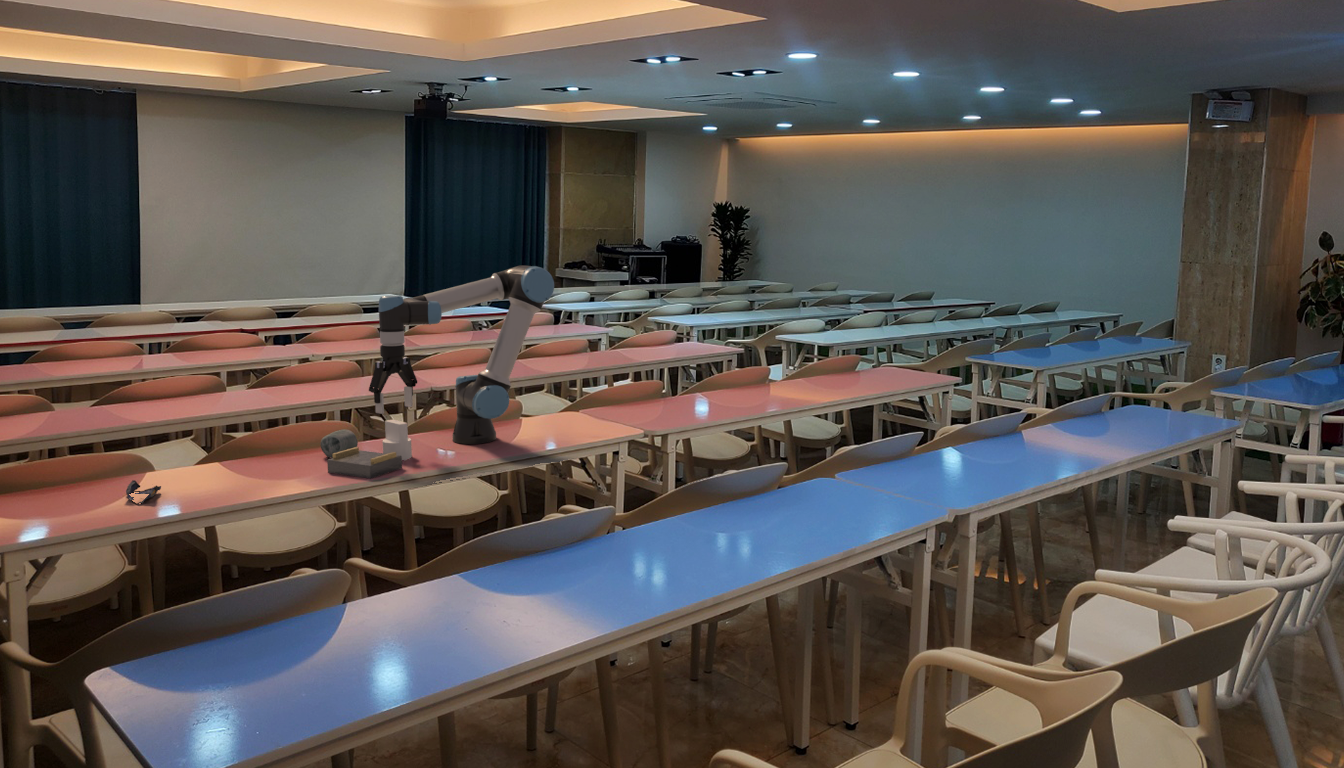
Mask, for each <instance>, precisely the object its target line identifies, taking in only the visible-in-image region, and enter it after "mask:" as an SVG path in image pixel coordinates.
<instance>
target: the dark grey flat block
mask: <svg viewBox="0 0 1344 768" xmlns="http://www.w3.org/2000/svg"><path fill="white" fill-rule="evenodd" d="M326 461H327V464H326V465H327V473H330V474H335V475H336V474H337V475H343V476H349V477H350V476H351V477H356V478H362V479H363V478H365V479H370V480H371V479H374V478H376V477H381V476H383V475H386V474H389V473H392V472H395V471H398V470H401V469H403V461H402V456H399V455H396V452H391V453H388V454H384V453H383V452H377V451H367V450H361V449H360V448H359V447H358V446H357V447H354V448H351V449H347V450H344V451H340V452H337V453H333V458H328V459H327V460H326Z"/></svg>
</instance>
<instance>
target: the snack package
mask: <svg viewBox="0 0 1344 768" xmlns="http://www.w3.org/2000/svg"><path fill="white" fill-rule="evenodd" d="M139 488H141V485H140V484H139V482H138V481H136V480H134V479H132V480H131V482H130V483H129V484H128V485H127V487H126V490H125V494H126V496H127V498H128V500H129V501H131V500H134V499H133V498H134V497H131V496H130V495H129V494H131V493H134V492H139V493H135V494H149V495H148V496H147V497H146V498H145V499H144V498H143V499H142V500H141V501H138V503H142V504H143V503H144V501H147V500H149V499H150V497H151V498H153V497H155V495H156V494H157V493H158V491H160V490H161V489H162V486H161V485H160V486H158V485H155V486H153V487H150V488H146V489H144V490H141V491H140V490H138V489H139ZM137 490H138V491H137Z"/></svg>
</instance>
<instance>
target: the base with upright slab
mask: <svg viewBox="0 0 1344 768" xmlns="http://www.w3.org/2000/svg"><path fill="white" fill-rule="evenodd" d="M384 429H385V431H384V432H385V438H384V439H383V440H382V442H381V443H382V453H384V454H388V453H391V452H396V455H399V456H402V460H404V461H408V460H407V459H409V458H411V457H412V458H413V453H412V450H413V449H412V438H411V437H408V436H409V435H408V434H409V432H408V423H407V422H405V421H401V420H397V419H387V420H385V421H384ZM412 458H411V459H412ZM409 460H410V459H409Z"/></svg>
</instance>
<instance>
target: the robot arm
mask: <svg viewBox="0 0 1344 768" xmlns="http://www.w3.org/2000/svg"><path fill="white" fill-rule="evenodd" d="M554 291H555V280H554V278H553V276H552V274H551V273H550V272H549V271H548V270H547V269H545V268H543V267H540V266H537V265H532V266H531V265H525V264H524V265H517V266H514V267H510V268H508V269H505V270H502V271H499V272H494V273H492V275H491V276H490V277H487V278H483V279H479V280H475V281H471V282H467V283H464V284H460V285H456V286H453V287H449V288H446V289H445V288H444V289H441V290H437V291H434V292H429V293H426V294H423V295H422V294H421V295H419V296H414V297H405V298H404V297H403V296H401V295H382V296H380V297H379V299H378V317H379V318H378V319H379V342H380V344H381V345H380V346H379V349H380V350H379V352H380V353H379V354H380V357H382V361H379V360H378V361H375V362H374V370H373V373H372V377H371V381H370V384H369V387H368V392H370V393H373V399H374V401H373V402H374V403H375V413H376V414H380V415H381V414H385V409H384V406H385V404H384V393H383V392H382V391H383V389H384V387H385V386H386V384H387V381H388V379H389V378H390V376H392V375H393V374H396V373H397V374H398V376H399V377H400V379H401V380H402V381H403V383H404V385H405V386H403V392H404V394H403V395H404V396H403V397H404V398H403V401H404V407H408V408H409V407H410V408H412V407H414V405H413V404H414V403H413V396H414V387H416V385H417V384H418V380H417V377H416V374H415V372H414V369H413V366H412V364H411V358H410V357H407V356H405V353H406V352H405V348H406V347H405V345H404V343H405V326H411V325H412V326H417V325H418V326H419V325H420V326H421V325H423V326H424V325H429V326H431V325H436V324H439V323H440V322H441V320H442V317H443V316H442V315H443V314H444V313H447V312H450V311H451V312H452V311H455V310H459V309H462V308H466V307H470V306H473V305H478V304H481V303H485V302H489V301H493V300H495V299H497V300H499V301H505V300H509V303H510V305H509V308H508V311H507V313H506V315H505V318H504V320H503V323H502V326H501V328H500V331H499V333H498V336H497V339H496V340H495V343H494V346H493V349H492V352H490V356H489V359H488V360H487V361H488V362H487V364H486V366H485V368H484V370H482V371H480V372H478V374H472V375H470V374H469V375H460V376H457V377H456V379H455V386H454V387H455V397H456V398H455V399H456V402H455V404H456V405H455V406H456V420H455V424H454V428H453V432H452V436H451V437H452V442H454V443H457V444H462V445H475V444H477V445H478V444H485V443H490V442H494V441H496V440H497V432H496V430H495V426H494V423H493V420H492V419H497V418H499V417H501V416H502V415H504V414H505V413H506V411H507V410H508V408H509V404H510V396H509V392H510V389H511V387H512V384H511V381H510V376H511V374H512V372H513V370H514V367H515V365H516V362H517V358H518V356H519V355H520V352H521V349H522V346H523V344H524V341H525V338H526V336H527V333H528V331H529V328H530V327H531V323H532V321H533V318H534V315H535V314H537V313H539V312H541V310H542V309H543V306H544V303H545V302H546V301H548V300H549V299H550V298H551V297H552V295H553V294H554Z"/></svg>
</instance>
